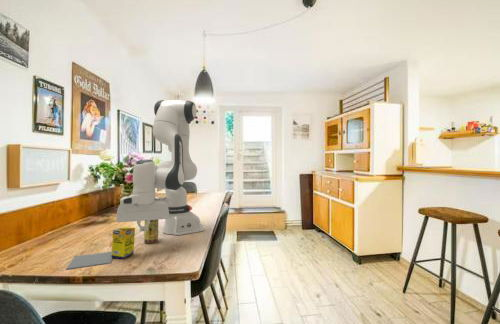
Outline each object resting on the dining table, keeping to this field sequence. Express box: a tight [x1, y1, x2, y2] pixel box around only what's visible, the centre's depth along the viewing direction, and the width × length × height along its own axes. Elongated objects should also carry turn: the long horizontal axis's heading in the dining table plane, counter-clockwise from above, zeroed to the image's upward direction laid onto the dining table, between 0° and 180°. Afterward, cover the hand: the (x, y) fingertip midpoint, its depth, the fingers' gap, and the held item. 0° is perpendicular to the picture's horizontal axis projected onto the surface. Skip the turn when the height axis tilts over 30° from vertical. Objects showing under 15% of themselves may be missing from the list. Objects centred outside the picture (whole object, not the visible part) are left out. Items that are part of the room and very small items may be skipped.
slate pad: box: [65, 251, 114, 271], centre depth 94 cm, size 14×12×1 cm
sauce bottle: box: [143, 219, 160, 244], centre depth 115 cm, size 7×6×20 cm
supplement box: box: [111, 226, 136, 259], centre depth 98 cm, size 6×6×11 cm
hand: (143, 231), depth 100 cm, fingers closed
